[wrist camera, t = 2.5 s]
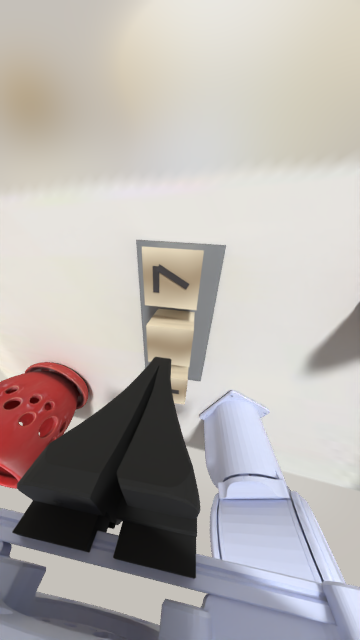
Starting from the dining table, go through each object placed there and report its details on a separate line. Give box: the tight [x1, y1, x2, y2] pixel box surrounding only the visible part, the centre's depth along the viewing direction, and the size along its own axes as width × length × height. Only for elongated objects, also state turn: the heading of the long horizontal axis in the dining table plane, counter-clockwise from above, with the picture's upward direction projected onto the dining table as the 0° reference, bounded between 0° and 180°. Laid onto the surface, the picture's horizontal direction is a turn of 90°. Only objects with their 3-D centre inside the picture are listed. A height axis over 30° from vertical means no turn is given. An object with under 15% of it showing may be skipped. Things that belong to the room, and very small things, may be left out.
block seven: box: [142, 247, 204, 310], centre depth 12 cm, size 4×4×5 cm
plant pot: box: [0, 362, 88, 488], centre depth 20 cm, size 13×13×12 cm
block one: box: [171, 365, 189, 405], centre depth 18 cm, size 4×4×5 cm
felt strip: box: [136, 240, 226, 381], centre depth 17 cm, size 19×9×1 cm, turn 176°
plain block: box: [146, 309, 195, 367], centre depth 15 cm, size 4×4×4 cm
